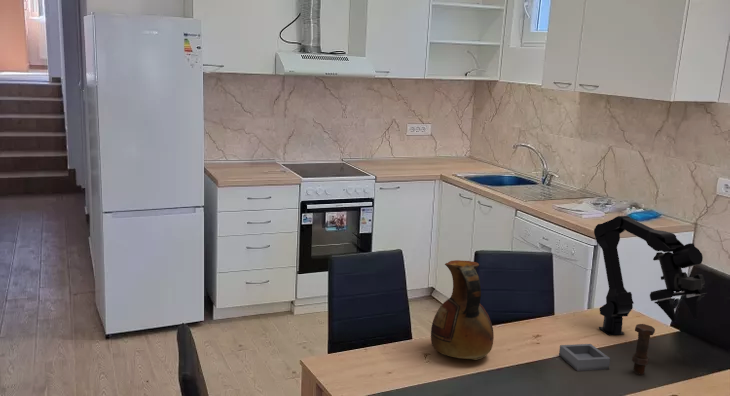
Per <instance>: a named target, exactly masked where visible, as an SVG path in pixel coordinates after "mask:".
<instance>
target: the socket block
mask: <svg viewBox="0 0 730 396" xmlns="http://www.w3.org/2000/svg"><path fill="white" fill-rule="evenodd" d="M558 356H559V357H560V359H562V360H564V362H566V363H567V364H568V365H569V366H571V367H572V368H573V369H574V370H576V371H577V372H580V371H595V370H596V371H598V370H609V369H610V363H611V357H609V356H608V355H606V354H605V353H604V352H602V351H601V350H600V349H598V348H597V347H596V346H594V345H593V344H591V343H579V344H578V343H577V344H561V345H559V352H558Z"/></svg>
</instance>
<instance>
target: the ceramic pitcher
mask: <svg viewBox="0 0 730 396" xmlns="http://www.w3.org/2000/svg"><path fill="white" fill-rule="evenodd" d="M444 265H445V266H446V267H447V268H448V270H449V271H450V274H451V278H452V292H451V295H450V297H449V298H448V299H447V300H445V301H444V302H443V303H442V304H441V305H440V307H438V309H437V311H436V313H435V315H434V317H433V320H432V324H431V329H430V341H431V346H432V347H433V349H434V350H436V352H438V353H439V354H442V355H444V356H448V357H453V358H457V359H465V360H466V359H467V360H473V361H474V360H475V361H476V360H480V359H483V358H485V357H486V356H487V355H488V354H490V352H491V351H492V348H493V345H494V336H495V335H494V328H493V324H492V321H491V318H490V315H489V313H488V312H487V311H486V309H485V307H484V306H483V305H482V304H481V299H482V288H481V286H482V285H481V281H480V276H479V274H478V273H477V270H476V269H477V268H478V267H479V266H480V264H479V263H478V262H477V261H472V260H471V261H470V260H459V259H457V260H450V261H448V262H446V263H445V264H444Z"/></svg>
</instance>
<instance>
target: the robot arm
mask: <svg viewBox="0 0 730 396" xmlns="http://www.w3.org/2000/svg"><path fill="white" fill-rule="evenodd" d="M625 231H626V232H627V233H630V234H632V235H633V236H636V237H638V238H639V239H641V240H643V241H645V242H646V244H647V246H648V247H650V248H651V249H652V250H654V251H656V253H655V256H653V259H652V260H653V261H659V266H660V270H661V272H662V276H660V280H661V281H663V280H664V283H665V287H666V288H663V289H659V290H658V289H657V290H653V291H651V292H650V293H649V299H650V301H651V302H654V304H656V305H657V306H658V307H659V308H660V309H661V310H662V311H663V312H664V313H665V315H667V317H668V318H669V319H670V320H671V322H672V323H675V322H677V316H676V311H675V305H674V303H675V300H676V298H675V297H680V296H684V298H683V300H684V303H685V304H686V306H687V309H688V311H689V313H690V314H691V317H692V318H693V320H697V319H698V317H699V305H700V301H701V299H702V298H704V297H705V294H708V291H707V289H706V286H705V285H706V281H705V278H704V275H703V274H700V273H699V274H694V276H691V277H690V276H688V274H687V272H685V271H683V269H687V268H690V267H695V266H698V265H701V264H702V262H703V258H704V257H703V253H702V252H701V251H700V249H699V248H697V247H696V246H695V243H686V244H683V243H682V242H681V241H680V240H679V239H678V238H677V235H676V234H675V233H673V232H671V231H666V230H658V229H655V228H652V227H650V226H648V225H646V224H644V223H642V222H639V221H638V220H635V219H633V218H631V217H630V216H628V215H617V216H615V217H613V218H612V219H610V220H607V221H604V222H603V223H598V224H597V225H595V227H594V228H593V235H594V237H595V241H596V243H597V245H599V247H600V248H601V250H602V254H603V261H604V266H605V272H606V273H605V274H606V278H607V285H608V291H607V294H606V297H605V299H606V300H605V301H606V302H605V304H603V305H602V306H600V307H599V314H600V316H601V315H602V316H603V322H602V326H598V329H599V330H600V331H602V332H603V333H605V334H607V336H617V335H618V336H619V335H621V336H623V335H625V332H624V331H623V330H622V329H623V321H624V320H623V319H624V318H623V317H628V316H629V315H630V312H631V311H632V310H633V309H634V307H633V305H634V304H635V303H634V301H633V294H632V292H631V291H628V290H627V289H626V288H625V286H624V285H625V284H624V280H623V275H622V269H621V263H620V262H621V261H620V257H619V250H618V245H619V244H620V241H621V234H623V233H624V232H625ZM673 297H674V298H673Z"/></svg>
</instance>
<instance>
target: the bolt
mask: <svg viewBox="0 0 730 396" xmlns="http://www.w3.org/2000/svg"><path fill="white" fill-rule="evenodd" d="M634 331H635V332H637V343H636V349H635V350H636V351H635V353H633V355H632V359H631V361H632V362H633V363H634V364H633V368H632V369H633V372H634V373H635V374H636V375H641V376H642V375H644V374H645V370H646V365H648V364H649V361H650V357H649V356H648V350H649V344H650V339H651V336H653V335H654V334H655V332H656V329H655V327H654V326H652V325H649V324H645V323H639V324H638V323H637V324H636V325H635V328H634Z"/></svg>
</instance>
